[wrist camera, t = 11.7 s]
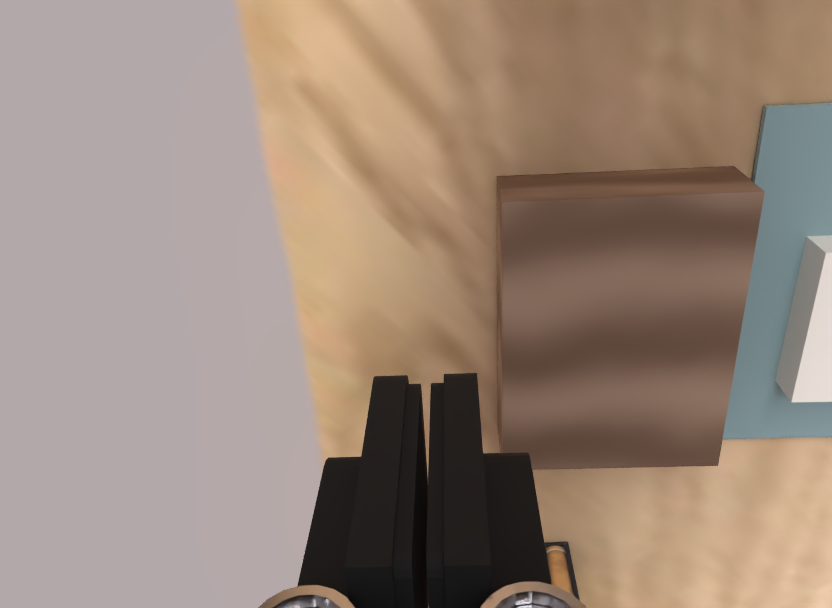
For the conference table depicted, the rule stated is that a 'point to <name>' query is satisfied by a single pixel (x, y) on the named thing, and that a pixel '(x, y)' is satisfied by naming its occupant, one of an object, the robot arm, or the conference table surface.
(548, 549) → the ammunition clip
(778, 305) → the mat
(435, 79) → the conference table surface
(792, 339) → the white rectangular block
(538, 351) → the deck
